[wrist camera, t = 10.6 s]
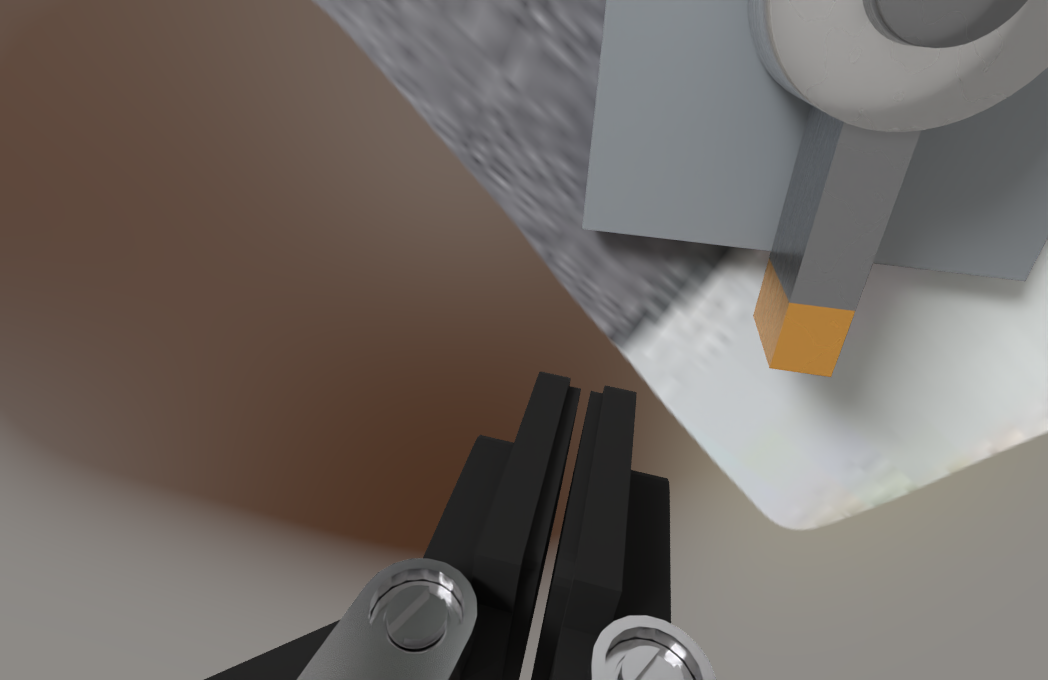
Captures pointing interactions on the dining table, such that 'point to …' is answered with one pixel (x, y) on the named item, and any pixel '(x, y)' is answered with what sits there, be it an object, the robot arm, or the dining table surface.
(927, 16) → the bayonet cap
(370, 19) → the dining table surface
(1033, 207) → the mounting board
